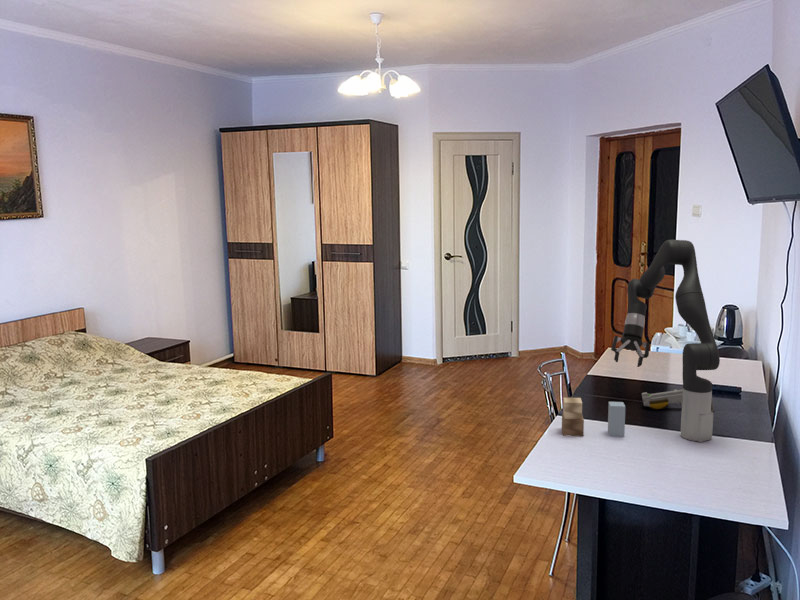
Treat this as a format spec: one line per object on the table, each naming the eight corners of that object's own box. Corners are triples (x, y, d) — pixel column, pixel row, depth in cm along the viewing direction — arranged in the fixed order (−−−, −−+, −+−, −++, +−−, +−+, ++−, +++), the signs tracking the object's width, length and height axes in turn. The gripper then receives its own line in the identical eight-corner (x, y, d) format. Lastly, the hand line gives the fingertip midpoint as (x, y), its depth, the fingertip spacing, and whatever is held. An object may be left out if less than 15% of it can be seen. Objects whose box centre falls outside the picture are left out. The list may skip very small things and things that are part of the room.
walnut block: (581, 429, 239) (581, 413, 238) (583, 436, 232) (583, 420, 231) (561, 428, 240) (562, 412, 239) (563, 435, 233) (563, 419, 232)
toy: (715, 412, 253) (711, 385, 251) (647, 421, 258) (643, 395, 257) (711, 407, 258) (707, 381, 257) (645, 416, 264) (640, 391, 263)
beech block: (580, 413, 238) (580, 397, 237) (581, 419, 232) (582, 403, 231) (563, 413, 239) (563, 397, 238) (564, 418, 233) (564, 402, 232)
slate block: (622, 431, 236) (623, 402, 234) (624, 436, 231) (625, 406, 229) (607, 431, 237) (608, 401, 235) (609, 436, 232) (610, 406, 230)
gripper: (617, 320, 267) (610, 358, 263) (654, 327, 264) (647, 366, 259) (614, 325, 274) (608, 362, 270) (650, 332, 271) (644, 370, 266)
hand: (627, 364), depth 265 cm, fingers open, 8 cm apart
